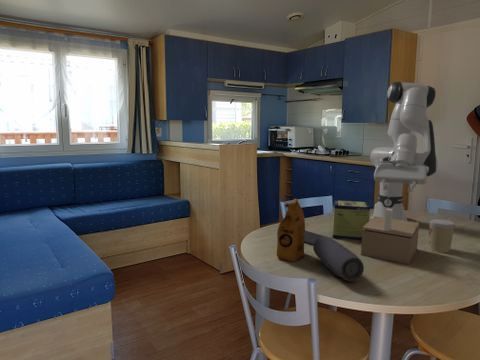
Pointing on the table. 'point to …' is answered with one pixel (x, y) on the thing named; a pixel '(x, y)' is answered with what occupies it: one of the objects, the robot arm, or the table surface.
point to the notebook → (311, 238)
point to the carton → (389, 246)
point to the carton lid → (391, 225)
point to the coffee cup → (440, 235)
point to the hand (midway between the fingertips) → (397, 190)
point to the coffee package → (291, 233)
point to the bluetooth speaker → (338, 258)
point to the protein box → (349, 219)
